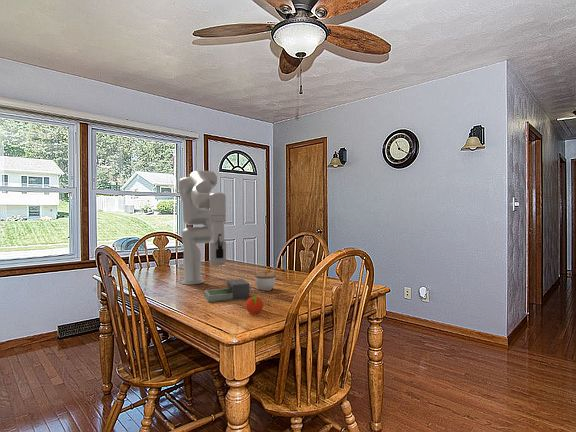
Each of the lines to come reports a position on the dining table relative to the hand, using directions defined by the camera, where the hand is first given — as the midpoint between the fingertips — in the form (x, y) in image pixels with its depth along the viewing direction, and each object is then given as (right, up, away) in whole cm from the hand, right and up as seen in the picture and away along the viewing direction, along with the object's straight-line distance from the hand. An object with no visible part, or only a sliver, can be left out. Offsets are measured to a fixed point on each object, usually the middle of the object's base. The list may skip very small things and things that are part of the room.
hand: (218, 256), depth 170 cm
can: (0, -4, 0) cm, 4 cm away
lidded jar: (+21, -19, +19) cm, 34 cm away
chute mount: (+4, -20, +2) cm, 20 cm away
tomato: (+20, -20, -25) cm, 38 cm away
